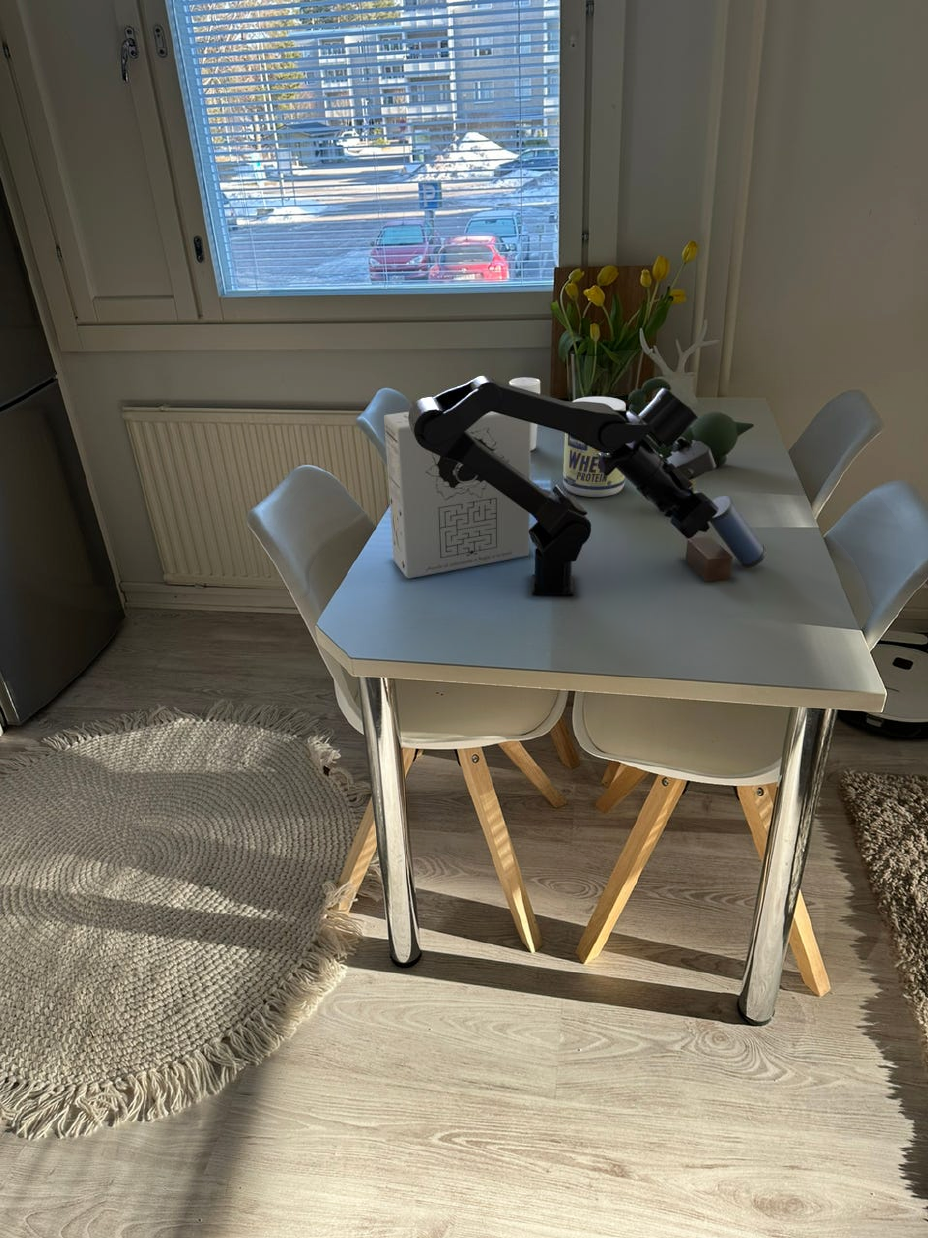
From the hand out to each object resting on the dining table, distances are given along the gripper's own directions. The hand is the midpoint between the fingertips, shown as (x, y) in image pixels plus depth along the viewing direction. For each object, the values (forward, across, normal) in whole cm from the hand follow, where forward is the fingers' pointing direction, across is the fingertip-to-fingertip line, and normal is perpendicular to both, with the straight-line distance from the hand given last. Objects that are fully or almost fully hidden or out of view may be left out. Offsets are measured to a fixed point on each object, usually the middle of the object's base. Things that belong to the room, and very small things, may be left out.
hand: (706, 529), depth 138 cm
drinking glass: (-4, +66, +14) cm, 68 cm away
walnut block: (+6, 0, +4) cm, 7 cm away
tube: (+4, 0, -3) cm, 5 cm away
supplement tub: (+2, +39, +9) cm, 40 cm away
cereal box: (-21, +14, +31) cm, 40 cm away
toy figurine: (+18, +48, -7) cm, 51 cm away
